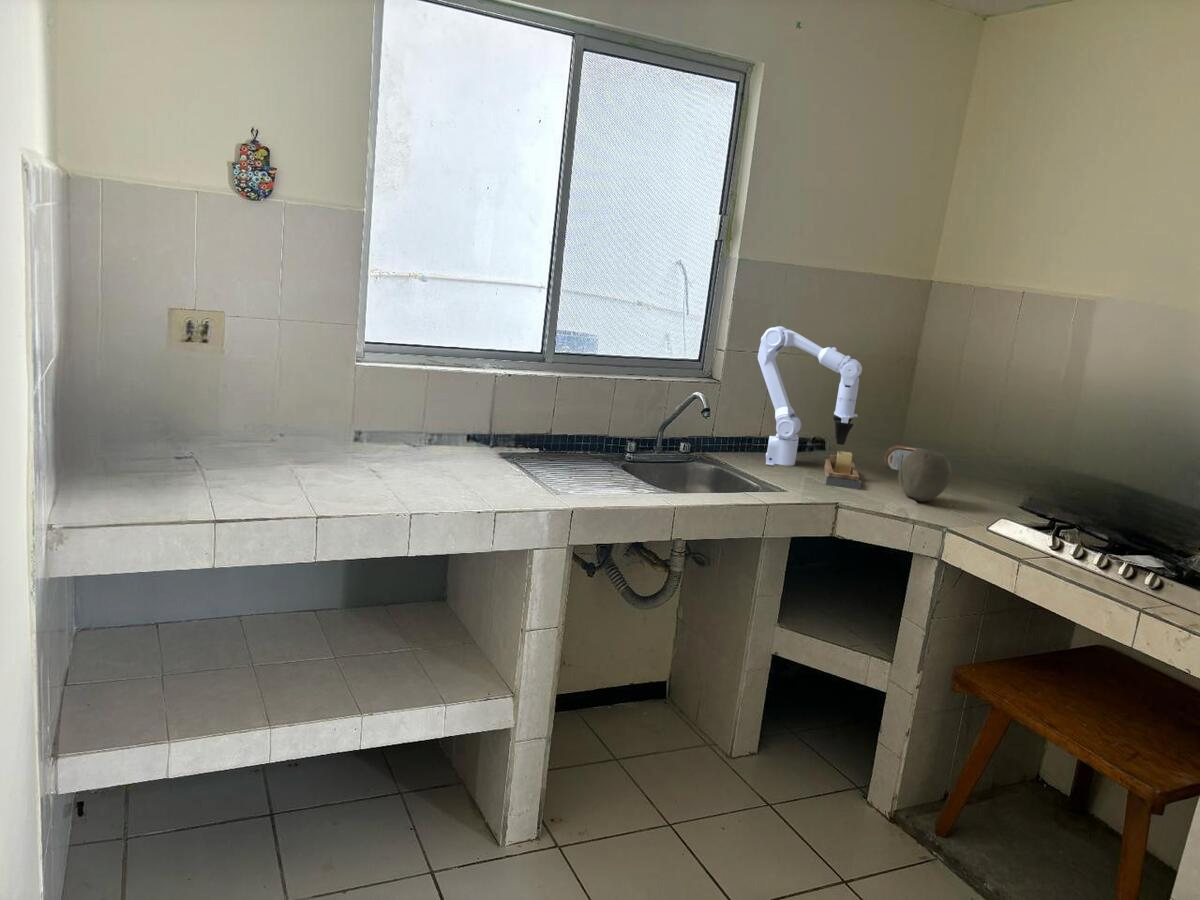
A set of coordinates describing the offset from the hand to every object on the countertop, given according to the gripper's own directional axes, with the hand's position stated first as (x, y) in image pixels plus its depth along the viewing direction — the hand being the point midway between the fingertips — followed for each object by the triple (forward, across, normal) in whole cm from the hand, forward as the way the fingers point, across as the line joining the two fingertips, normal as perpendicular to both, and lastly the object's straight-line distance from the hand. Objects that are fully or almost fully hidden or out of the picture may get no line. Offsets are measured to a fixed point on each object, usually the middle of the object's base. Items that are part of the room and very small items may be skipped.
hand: (839, 442), depth 291 cm
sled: (+10, -8, -1) cm, 12 cm away
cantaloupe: (+10, -19, -24) cm, 32 cm away
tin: (+11, +18, -24) cm, 32 cm away
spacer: (+9, -8, -2) cm, 12 cm away
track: (+10, -6, -1) cm, 12 cm away
